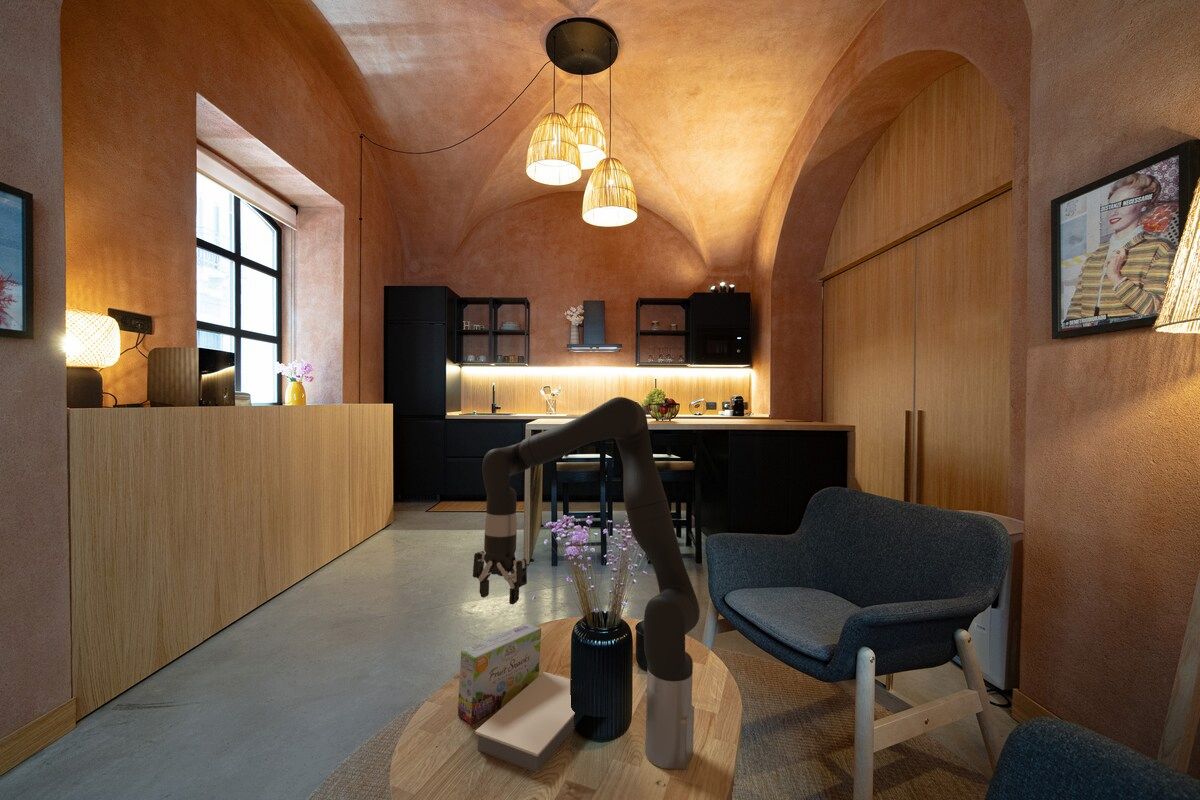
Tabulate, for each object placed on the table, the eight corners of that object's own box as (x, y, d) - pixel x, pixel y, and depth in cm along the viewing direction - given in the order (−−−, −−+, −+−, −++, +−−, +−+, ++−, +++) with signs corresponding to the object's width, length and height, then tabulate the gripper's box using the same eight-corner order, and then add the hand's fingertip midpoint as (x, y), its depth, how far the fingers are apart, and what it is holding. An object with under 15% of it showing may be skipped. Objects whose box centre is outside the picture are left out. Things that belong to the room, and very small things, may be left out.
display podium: (597, 704, 124) (597, 687, 124) (537, 775, 100) (537, 754, 100) (543, 687, 130) (543, 671, 131) (474, 750, 106) (475, 731, 106)
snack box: (472, 726, 114) (475, 657, 114) (456, 716, 118) (459, 649, 118) (540, 687, 131) (542, 626, 131) (524, 679, 134) (526, 620, 135)
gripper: (534, 532, 124) (532, 600, 124) (487, 524, 130) (485, 589, 130) (515, 538, 117) (513, 611, 117) (466, 530, 124) (464, 599, 123)
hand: (498, 599), depth 124 cm, fingers open, 8 cm apart
